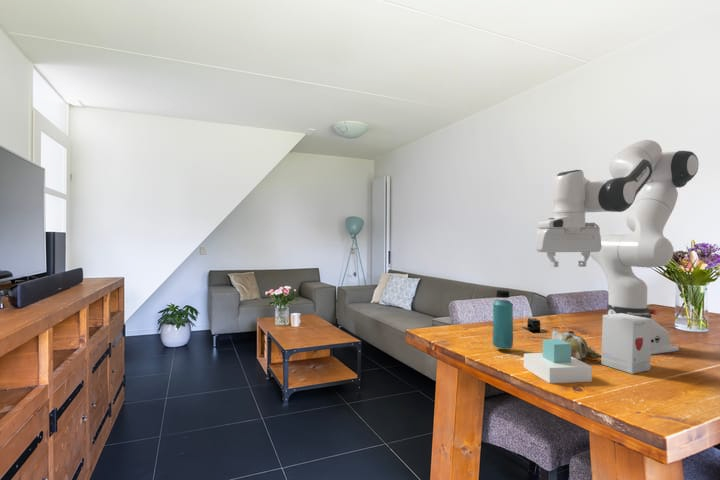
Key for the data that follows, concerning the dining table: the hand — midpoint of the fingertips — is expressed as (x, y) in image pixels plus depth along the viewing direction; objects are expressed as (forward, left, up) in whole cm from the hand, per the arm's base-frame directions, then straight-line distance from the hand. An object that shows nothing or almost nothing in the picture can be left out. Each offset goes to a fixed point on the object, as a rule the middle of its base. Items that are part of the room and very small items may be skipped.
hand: (568, 266), depth 117 cm
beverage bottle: (+16, -10, -29) cm, 34 cm away
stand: (+12, +12, -29) cm, 33 cm away
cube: (+12, +12, -25) cm, 30 cm away
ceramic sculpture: (-2, -1, -29) cm, 29 cm away
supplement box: (-12, +9, -29) cm, 33 cm away
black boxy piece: (-11, -35, -30) cm, 47 cm away
